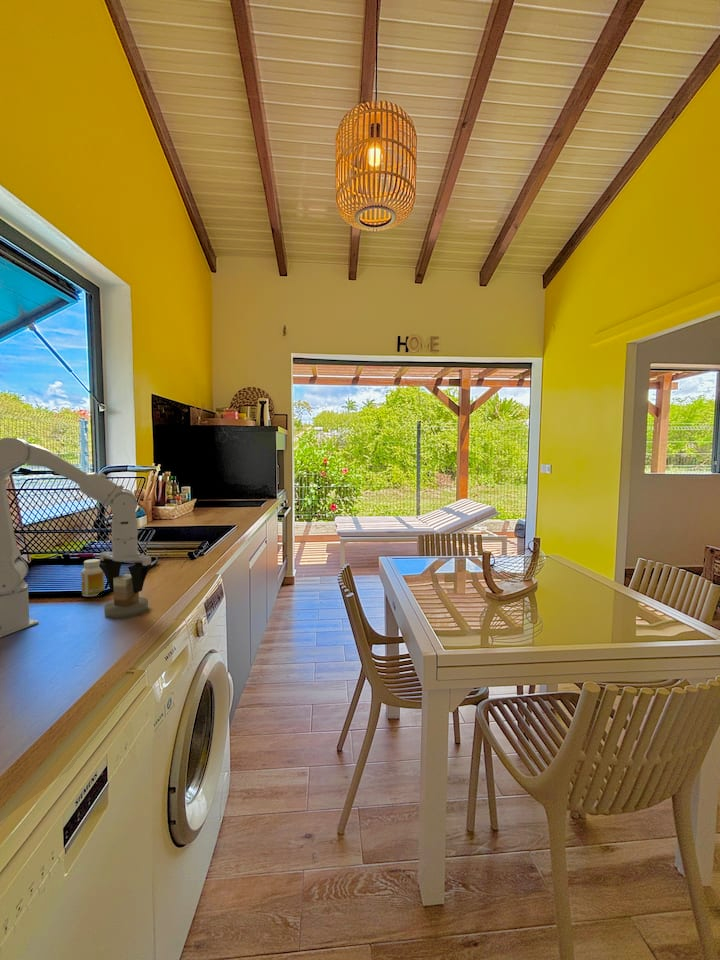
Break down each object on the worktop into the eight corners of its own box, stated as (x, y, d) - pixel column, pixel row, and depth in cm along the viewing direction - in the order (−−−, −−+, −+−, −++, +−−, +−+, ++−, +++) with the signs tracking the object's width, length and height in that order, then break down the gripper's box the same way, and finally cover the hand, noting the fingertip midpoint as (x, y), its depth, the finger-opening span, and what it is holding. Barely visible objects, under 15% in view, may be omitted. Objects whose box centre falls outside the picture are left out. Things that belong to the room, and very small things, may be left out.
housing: (126, 607, 112) (125, 579, 112) (114, 605, 114) (113, 578, 113) (138, 601, 116) (138, 575, 116) (126, 599, 117) (126, 573, 117)
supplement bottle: (108, 591, 130) (107, 558, 129) (95, 597, 124) (94, 563, 124) (90, 590, 130) (89, 557, 130) (77, 596, 125) (76, 562, 124)
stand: (126, 620, 109) (126, 612, 109) (94, 615, 112) (94, 607, 112) (156, 606, 118) (156, 599, 118) (126, 602, 121) (126, 594, 121)
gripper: (159, 536, 115) (160, 588, 116) (115, 532, 119) (116, 582, 121) (138, 542, 108) (139, 597, 110) (92, 537, 113) (93, 590, 114)
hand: (126, 589), depth 115 cm, fingers open, 7 cm apart
